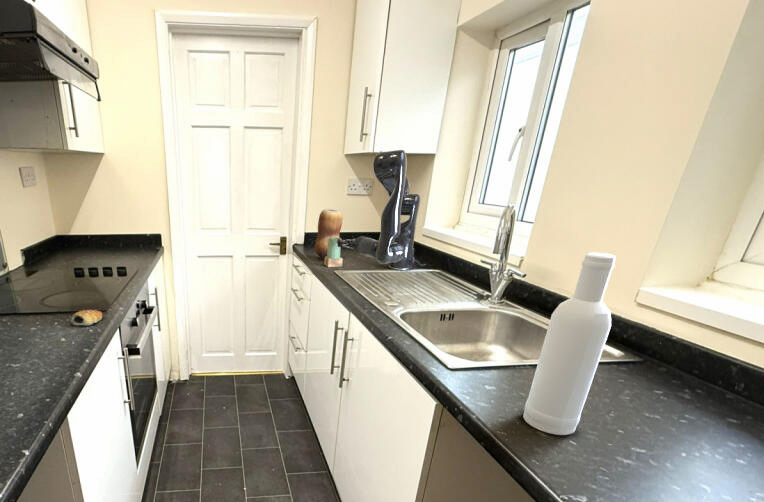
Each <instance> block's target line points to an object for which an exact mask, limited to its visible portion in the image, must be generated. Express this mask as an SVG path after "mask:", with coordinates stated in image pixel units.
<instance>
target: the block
mask: <svg viewBox="0 0 764 502" xmlns="http://www.w3.org/2000/svg"><path fill="white" fill-rule="evenodd" d="M343 260H344V259H343V257H342V256H340V258H337V259H332V258H327V256H326V257H325V260H323V261H324V263H323V265H324V266H326V267H327V268H342V267H343Z"/></svg>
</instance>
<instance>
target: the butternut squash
mask: <svg viewBox="0 0 764 502" xmlns="http://www.w3.org/2000/svg"><path fill="white" fill-rule="evenodd" d="M342 226H343V214H342V212H341V211H340V210H338V209H331V208H326V209H322V210H321V212H320V213H319V216H318V222H317V237H316V239H315V243H314V251H315V254H316V255H317V256H318V257H319V258H320V259H321V260H322V261H325V257H326V256H327V253H328V238H340V233H341V230H342Z"/></svg>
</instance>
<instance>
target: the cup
mask: <svg viewBox="0 0 764 502" xmlns="http://www.w3.org/2000/svg"><path fill="white" fill-rule="evenodd" d="M338 239H340V240H342V238H341V237H339V238H328V253H327V258H332V259H337V258H340V257H341V250H342V249H341V247H338V246H337V245H338V244H337V240H338Z"/></svg>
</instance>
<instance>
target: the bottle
mask: <svg viewBox="0 0 764 502" xmlns="http://www.w3.org/2000/svg"><path fill="white" fill-rule="evenodd" d="M616 258H617V257H616V256H615V255H614V254H611V253H603V252H588V253H586V254H585V256H584V259H583V260H582V262H581V268H580V269H581V270H580V272H579V276H578V279H577V282H576V285H575V289H574V293H573V294H572V295H573V296H572V297H569V298H568V299H566V300H564V301H562V302H561V303H559V304H558V306H557V307H556V308H555V309H554V310H553V312H552V313H551V316H550V320H549V323H548V326H547V330H546V332H545V333H546V334H545V337H544V341H543V343H542V347H541V351H540V354H539V358H538V362H537V365H536V368H535V372H534V376H533V380H532V383H531V387H530V389H529V394H528V397H527V399H526V402H525V405H524V411H523V414H522V415H523V416H522V417H523V419H524V421H525V422H526V423H527V424H528V425H530V426H531V427H533V428H534V429H536V430H539V431H541V432H543V433H547V434H549V435H550V434H551V435H556V436H568V435H572V434H574V432H576V429H577V426H578V425H579V423H580V420H581V414H582V412H583V409H584V406H585V403H586V400H587V398H588V394H589V391H590V389H591V385H592V384H593V380H594V377H595V374H596V371H597V369H598V366H599V362H600V359H601V357H602V354H603V351H604V348H605V345H606V342H607V340H608V337H609V334H610V331H611V327H612V316H611V315H612V314H611V310H610V309H609V308H608V307H607V305H606V304H605V303H604V302H603V298H604V295H605V292H606V290H607V287H608V282H609V280H610V276H611V273H612V270H613V269H614V268H615V266H616V264H615V262H616Z"/></svg>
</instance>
